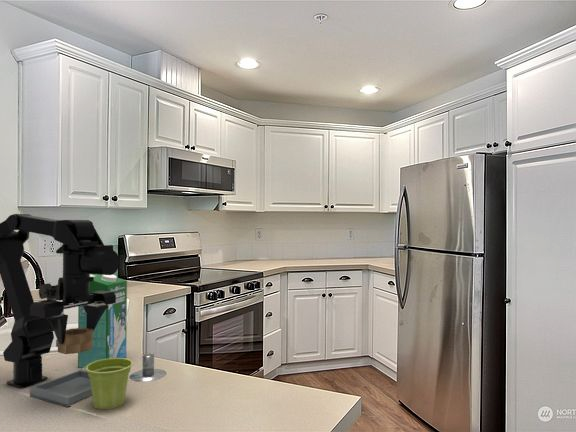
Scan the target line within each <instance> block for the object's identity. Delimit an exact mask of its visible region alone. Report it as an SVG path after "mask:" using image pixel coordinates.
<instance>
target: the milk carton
mask: <svg viewBox="0 0 576 432" xmlns="http://www.w3.org/2000/svg"><path fill="white" fill-rule="evenodd" d="M90 277H94V281H91V282H90V292H95V291H101V290H102V291H111V292H114V294H115V295H116V303H113V304H109V305H108V306H109V308H106V310H105V311H104V313H103V315H102V316H101V318H100V320H99V322H98V324H97V326H96V327H95V329H94V331H93V347H92V349H91V350H88V351H85V352H82V353H77V367H78V368H86V366H87V365H88V364H90V363H92V362H95V361H98V360H102V359H109V358H126V359H127V330H128V329H127V328H128V327H127V325H128V324H127V322H128V321H127V318H128V317H127V316H128V314H127V311H128V310H127V309H128V307H127V305H128V301H127V299H128V281H127V280H126V279H123V278H119V277H118V276H117V275H115V274H112V275H99V274H90ZM82 302H83V301H82ZM105 305H106V304H105ZM77 317H78V321H77V322H78V323H77V324H78V325H77V327H78V328H86V324H87V313H86V311H85V309H84V307H83V305H82V306H78V315H77Z"/></svg>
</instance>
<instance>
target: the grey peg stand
mask: <svg viewBox="0 0 576 432" xmlns="http://www.w3.org/2000/svg"><path fill="white" fill-rule="evenodd" d="M166 376H167V371H166V370H164V369H161V368H160V369H159V368H155V354H154V353H144V354H142V369H141V370H138V371H135V372H133V373H132V374H130V376H128V379H130V380H131V381H132V382H133V381H134V382H138V383H147V382H153V381H154V382H155V381H158V380H160V379H162V378H165V377H166Z"/></svg>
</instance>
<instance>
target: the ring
mask: <svg viewBox="0 0 576 432" xmlns="http://www.w3.org/2000/svg"><path fill="white" fill-rule="evenodd" d="M55 347H57V353H59V354H64V355H73V354H78V353H82V352H85V351H88V350H91V349H92V347H93V329H89V328H77V327H75V328H69V329H66V334H65V339H64V343H63V344H59V342H58V340H57V339H55Z"/></svg>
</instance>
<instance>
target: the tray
mask: <svg viewBox="0 0 576 432" xmlns="http://www.w3.org/2000/svg"><path fill="white" fill-rule="evenodd" d="M29 387H30V388H29V396H30V397H31V398H34V399H38V400H41V401H44V402H48V403H51V404H54V405H58V406H61V407H65V408H70V407H72V405H74V404H77V403H79V402H81V401H83V400H86V399H88V398H90V397H92V389H91V382H90V377H89V376H88V372H87V371H86V369H78V370H76V371H73V372H69V373H67V374H64V375H61V376H58V377H56V378H53V379H49V380H46V381H45V382H44V381H43V382H40V383H38V384H36V385H34V386H33V385H32V386H29Z"/></svg>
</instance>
